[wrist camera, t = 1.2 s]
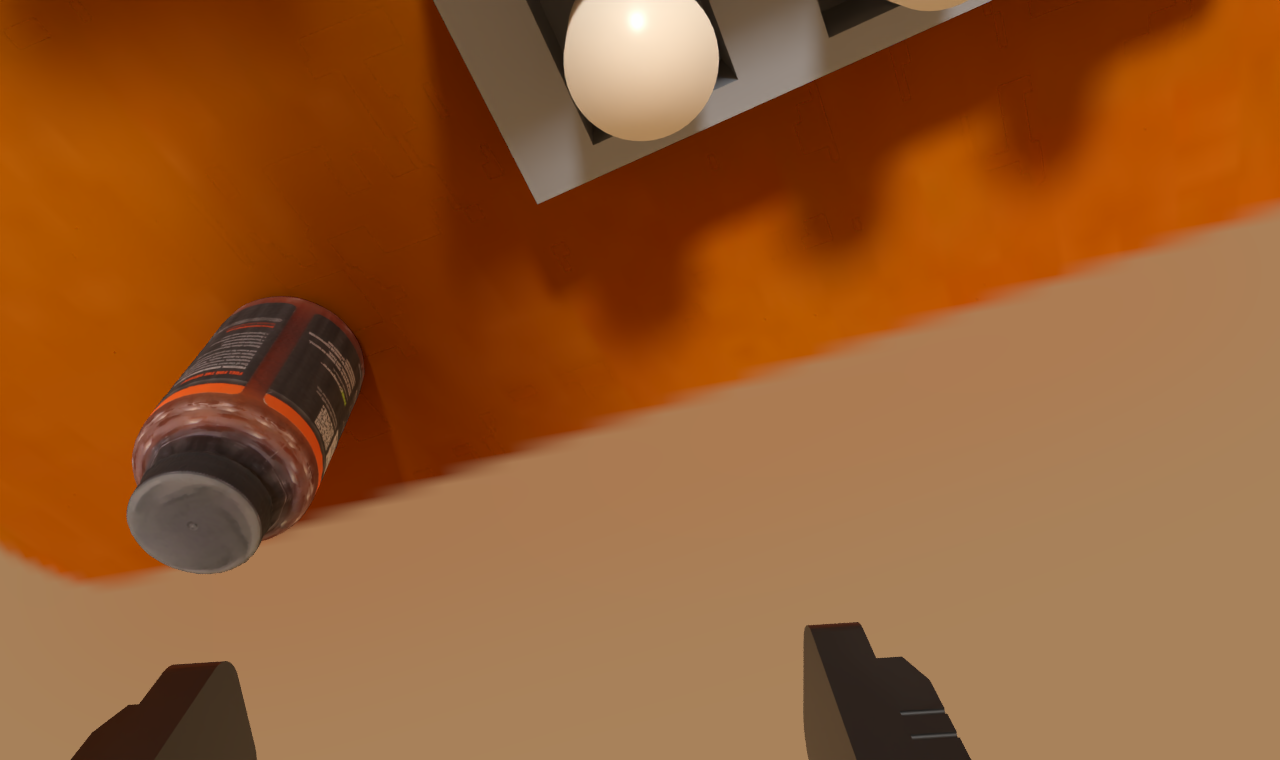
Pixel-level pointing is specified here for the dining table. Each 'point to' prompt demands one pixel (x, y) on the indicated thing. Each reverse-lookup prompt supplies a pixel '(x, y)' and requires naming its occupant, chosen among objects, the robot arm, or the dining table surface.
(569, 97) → the console
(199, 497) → the supplement bottle
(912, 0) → the middle button
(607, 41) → the button
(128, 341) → the dining table surface
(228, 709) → the robot arm
